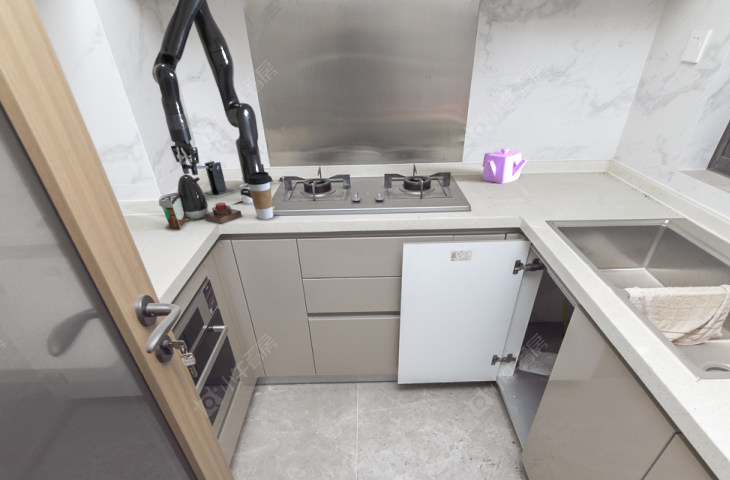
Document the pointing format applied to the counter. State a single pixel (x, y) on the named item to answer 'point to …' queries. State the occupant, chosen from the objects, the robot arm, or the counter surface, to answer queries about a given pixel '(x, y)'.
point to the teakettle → (502, 166)
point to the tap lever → (199, 167)
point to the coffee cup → (261, 194)
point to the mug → (246, 194)
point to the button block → (222, 215)
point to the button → (220, 206)
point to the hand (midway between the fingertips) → (190, 174)
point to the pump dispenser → (192, 197)
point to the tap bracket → (216, 179)
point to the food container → (173, 210)
